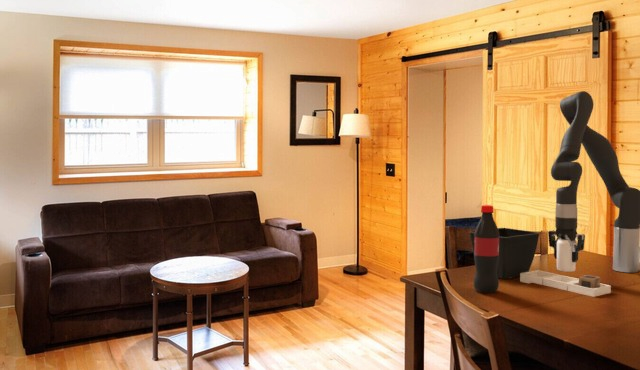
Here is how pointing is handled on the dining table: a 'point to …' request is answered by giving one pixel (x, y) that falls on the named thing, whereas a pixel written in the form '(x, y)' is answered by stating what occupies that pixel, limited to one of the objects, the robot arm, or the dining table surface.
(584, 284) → the letter cube
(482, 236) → the cola bottle
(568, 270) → the can
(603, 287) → the dish
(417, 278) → the dining table surface
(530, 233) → the flower pot
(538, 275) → the dish
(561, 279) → the dish
